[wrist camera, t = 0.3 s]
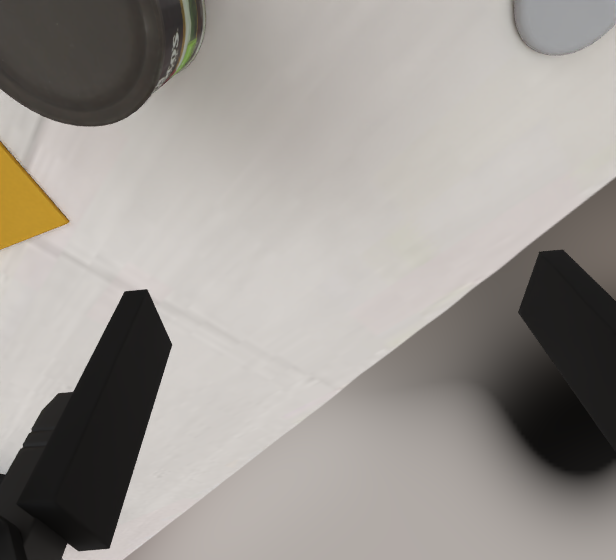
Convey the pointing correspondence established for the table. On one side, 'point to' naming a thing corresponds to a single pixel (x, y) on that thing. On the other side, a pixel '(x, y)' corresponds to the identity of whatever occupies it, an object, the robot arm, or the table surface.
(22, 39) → the coffee can
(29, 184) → the cloth
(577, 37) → the holder
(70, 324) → the table surface
